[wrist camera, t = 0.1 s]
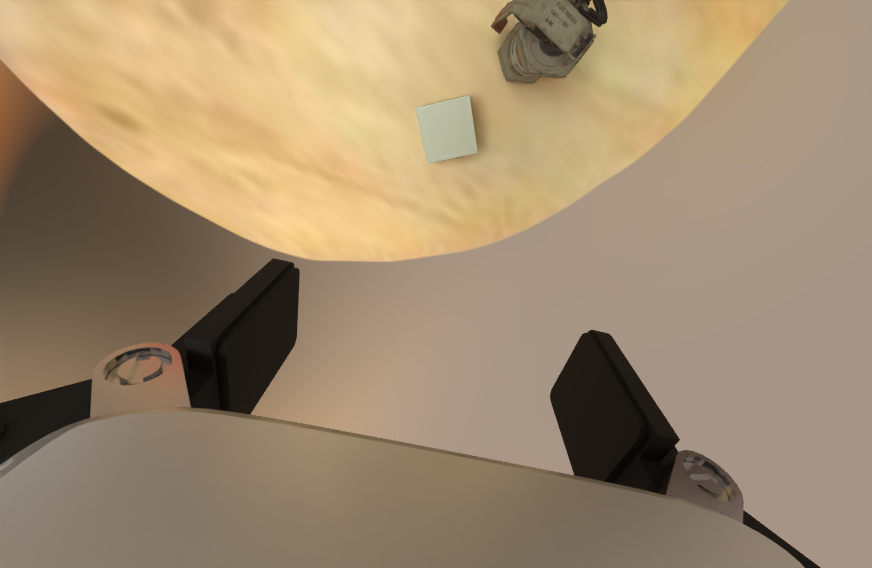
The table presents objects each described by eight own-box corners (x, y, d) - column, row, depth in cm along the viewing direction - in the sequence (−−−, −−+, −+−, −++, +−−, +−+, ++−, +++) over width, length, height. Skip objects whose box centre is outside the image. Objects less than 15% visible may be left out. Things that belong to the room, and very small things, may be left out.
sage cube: (420, 106, 36) (415, 107, 31) (467, 95, 35) (469, 95, 31) (430, 155, 38) (427, 163, 34) (474, 146, 37) (477, 152, 33)
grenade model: (573, 27, 32) (656, -22, 19) (521, 95, 35) (563, 94, 22) (522, -25, 30) (574, -118, 17) (472, 51, 33) (485, 21, 20)
